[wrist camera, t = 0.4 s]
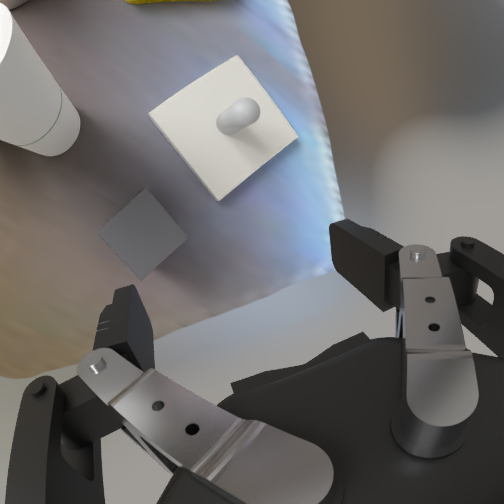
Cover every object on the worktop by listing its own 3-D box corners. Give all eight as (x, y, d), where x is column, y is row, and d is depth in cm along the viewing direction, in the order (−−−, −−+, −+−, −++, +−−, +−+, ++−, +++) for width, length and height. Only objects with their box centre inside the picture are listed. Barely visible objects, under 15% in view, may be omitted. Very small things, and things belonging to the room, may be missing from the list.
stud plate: (148, 115, 35) (151, 97, 27) (234, 58, 37) (256, 33, 29) (216, 200, 40) (236, 203, 32) (293, 138, 42) (327, 129, 34)
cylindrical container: (59, 90, 30) (-14, -16, 7) (91, 126, 33) (34, 38, 10) (19, 131, 29) (-95, 75, 6) (50, 168, 32) (-59, 144, 9)
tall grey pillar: (107, 222, 36) (97, 232, 27) (144, 188, 37) (146, 187, 28) (139, 259, 38) (141, 281, 29) (176, 225, 39) (188, 237, 30)
